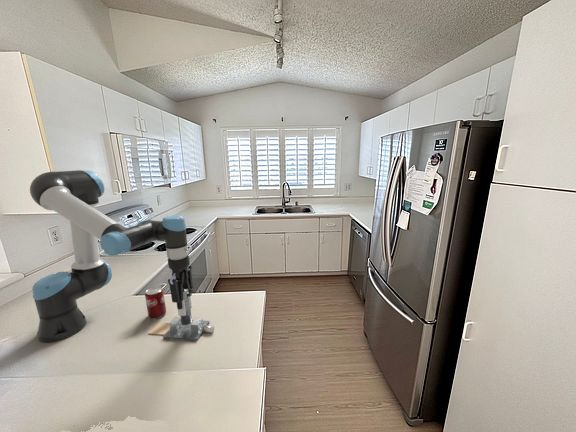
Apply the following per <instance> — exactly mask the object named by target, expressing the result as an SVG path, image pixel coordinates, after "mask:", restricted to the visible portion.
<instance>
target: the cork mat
mask: <svg viewBox="0 0 576 432" xmlns="http://www.w3.org/2000/svg"><path fill="white" fill-rule="evenodd" d="M169 323H170V322H158V323H157V324H156V325H155V326H154V327H153V328H152V329H151V330H150V331H149V332H148V335H153V336H154V335H156V336H164V335H165V334H166V332H167V331H168V330H169V329H170V327H169Z"/></svg>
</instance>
